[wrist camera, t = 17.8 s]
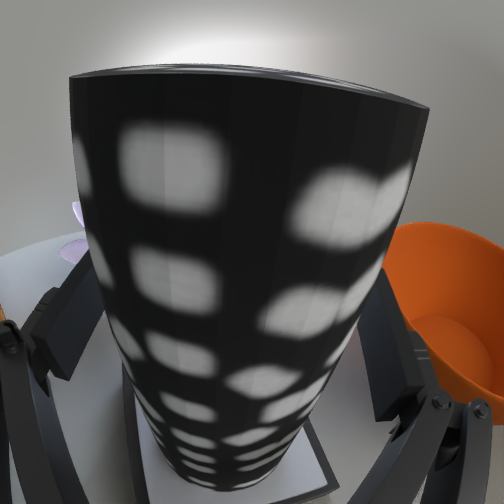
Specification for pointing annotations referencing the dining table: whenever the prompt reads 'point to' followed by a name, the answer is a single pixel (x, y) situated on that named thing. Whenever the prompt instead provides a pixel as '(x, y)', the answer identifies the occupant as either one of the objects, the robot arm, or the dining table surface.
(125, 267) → the white-spotted black cylinder
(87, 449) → the dining table surface
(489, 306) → the bowl
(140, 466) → the scale
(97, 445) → the dining table surface
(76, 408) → the dining table surface
